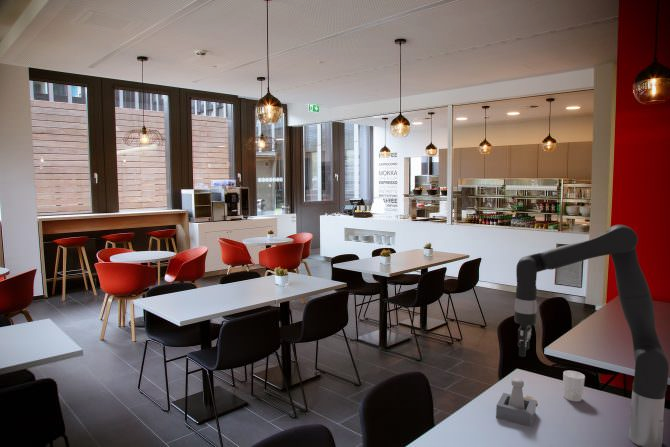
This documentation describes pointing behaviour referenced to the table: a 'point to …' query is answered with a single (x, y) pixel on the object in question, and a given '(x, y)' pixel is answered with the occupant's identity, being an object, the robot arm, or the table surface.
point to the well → (516, 411)
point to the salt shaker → (517, 394)
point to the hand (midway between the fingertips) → (523, 352)
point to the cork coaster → (529, 398)
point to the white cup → (573, 385)
